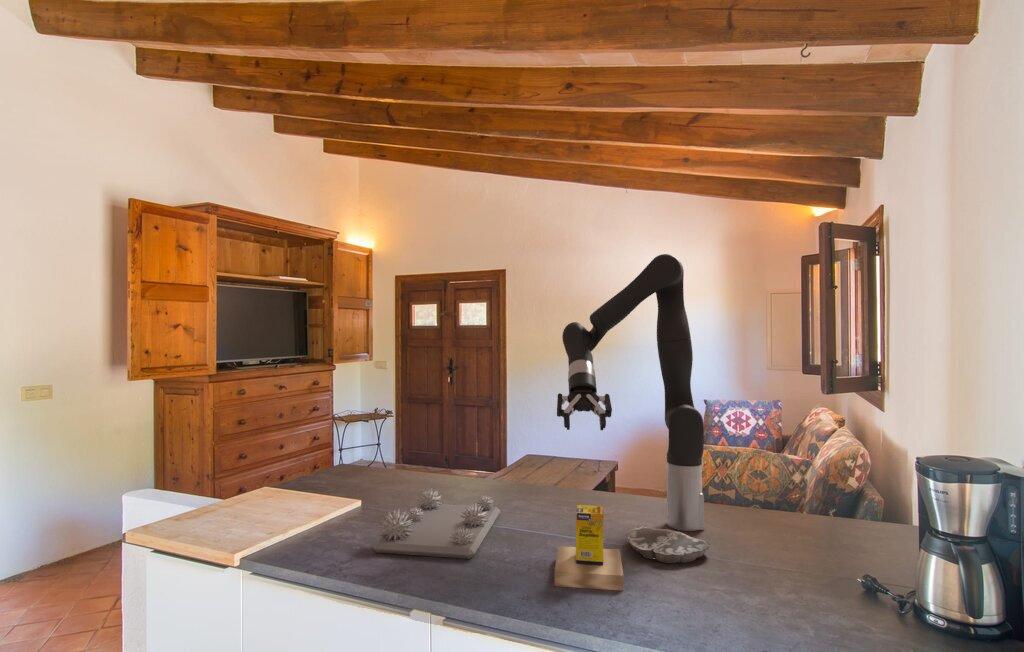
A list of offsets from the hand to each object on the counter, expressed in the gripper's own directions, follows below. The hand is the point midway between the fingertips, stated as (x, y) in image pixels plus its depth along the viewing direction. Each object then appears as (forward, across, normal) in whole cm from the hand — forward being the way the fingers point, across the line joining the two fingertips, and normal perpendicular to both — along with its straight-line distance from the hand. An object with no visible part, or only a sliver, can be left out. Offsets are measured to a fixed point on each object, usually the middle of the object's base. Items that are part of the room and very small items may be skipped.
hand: (585, 428), depth 137 cm
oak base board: (+34, -1, +7) cm, 34 cm away
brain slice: (+24, +18, +17) cm, 35 cm away
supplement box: (+31, 0, +5) cm, 32 cm away
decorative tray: (+17, -38, +24) cm, 48 cm away
